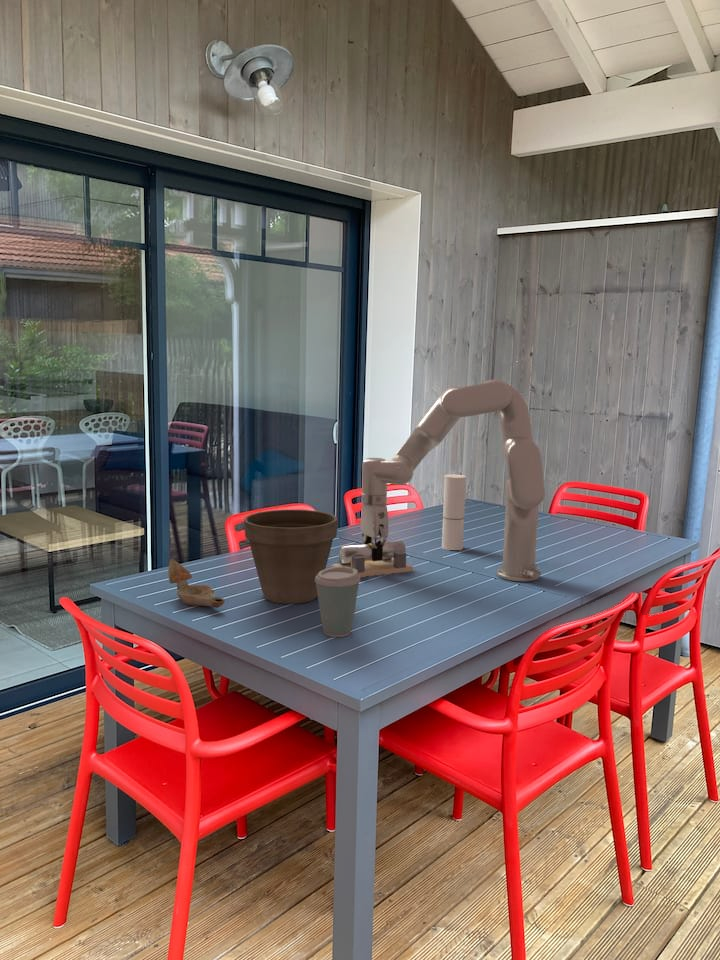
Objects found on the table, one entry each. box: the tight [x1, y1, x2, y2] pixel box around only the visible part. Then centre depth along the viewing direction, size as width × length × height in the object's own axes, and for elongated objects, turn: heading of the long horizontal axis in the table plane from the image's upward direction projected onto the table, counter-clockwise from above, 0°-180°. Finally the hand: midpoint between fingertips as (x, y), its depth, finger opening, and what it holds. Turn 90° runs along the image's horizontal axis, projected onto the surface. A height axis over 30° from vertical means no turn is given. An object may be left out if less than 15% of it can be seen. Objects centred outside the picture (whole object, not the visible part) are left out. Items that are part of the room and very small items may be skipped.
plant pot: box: [243, 509, 338, 605], centre depth 206 cm, size 25×25×22 cm
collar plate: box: [330, 548, 414, 578], centre depth 234 cm, size 11×22×6 cm, turn 116°
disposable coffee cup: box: [315, 566, 361, 638], centre depth 180 cm, size 11×11×15 cm
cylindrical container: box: [441, 473, 467, 551], centre depth 261 cm, size 7×7×25 cm
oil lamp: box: [167, 558, 226, 609], centre depth 199 cm, size 9×21×10 cm, turn 49°
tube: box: [338, 540, 407, 563], centre depth 233 cm, size 20×5×5 cm, turn 116°
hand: (372, 557), depth 234 cm, fingers closed on tube, 5 cm apart
